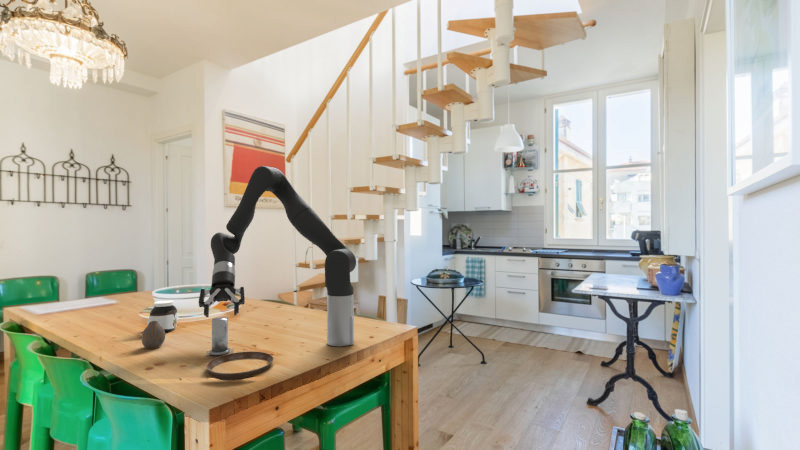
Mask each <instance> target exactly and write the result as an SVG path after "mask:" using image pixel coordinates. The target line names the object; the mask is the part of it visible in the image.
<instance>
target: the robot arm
mask: <svg viewBox="0 0 800 450" xmlns="http://www.w3.org/2000/svg"><path fill="white" fill-rule="evenodd" d="M265 192H271V193H272V194H273V195H274V196H275V197H276V198H277V199H278V200H279V201H280V203H281V204H282V205H283V207H284V210H285V214H286V217H287V219H288V221H289V223H290V224H291V225H292V226H293V227H294V229H295V230H296V231H297V232H298V233H299V234H300V235H301V236H302V237H303V238H305V239H306V240H307V241H309V242H310V243H312V244H313V245H315V246H316V247H318V248H319V249H320V250H321V251H322V252H323V254H324V255H325V260H324V284H325V285H324V286H325V288H326V296H327V298H326V299H327V301H326V303H327V308H326V310H327V314H326V315H327V316H326V318H327V319H326V324H327V325H326V328H327V331H326V334H327V335H326V336H327V337H326V338H327V339H326V340H327V345H328V346H332V347H345V346H353V345H354V341H355V314H354V286H353V285H352V283H351V272H353V271H354V270H355V269H356V266H357V259H356V256H355V254H354V253H353V251H351V249H349V248H348V247H347V246H346V245H345V244H343V242H342V241H341V240H340V239H339V238H338V237H337V236H335V234H334V233H333V232H332V231H331V229H330V228H329V227H328V226H327V225H326V223H325V222H324V221H323V220H322V219H321V217H320V216H319V215H318V214H317V213H316V212H315V210H314V209H313V208H312V207H311V206H310V205H309V203H307V202H306V201H305V199H303V197H302V196H301V195H300V194H299V192H297V191H296V189H295V188H294V186H293V185H292V184H291V182H290V181H289V180H288V178H287V177H286V175H285V173H283V172H282V171H281V170H280V169H278V168H276V167H273V166H267V165H261V166H258V167H256V168H255V169H253V172H252V174H251V176H250V179H249V181H248V182H247V185H246V188H245V190H244V193H243V195H242V197H241V199H240V202H239V204H238V205H237V208H236V209H235V210H234V211H233V214H232V215H231V217H230V219H229V220H228V222H227V224H226V227H225V228H226V230H227V231H228V232H229V233H230V234H231V235H230V234H227V233H224V232H216V233H215V234H213V235H212V237H211V240H210V249H211V252H212V256H213V260H214V261H213V269H212V276H211V286H210V287H211V288H210V289H209V290H206V289H205V288H201V289H200V291H199V292H200V293H199V297H198V308H203V316H205V318H209V316H210V314H209V313H210V307H211V306H212V305H214V304H215V303H216V302H217V303H220V302H228V301H229V302H230V303H231V304H233V306H234V308H233V315H234V316H237V314H239V313H240V311H239V309H240V306H241V305H245V303H246V301H245V300H246V299H245V288H244V286H240V288H236V287H235V285H236V283H235V282H236V267H235V266H236V257H235V256H236V255H235V254H237V253H238V252H239V250H240V248H241V244H242V239H243V237H244V234H245V232H247V231H246V230H248V227H249V226H250V225H251V223H252V221H253V219H254V217H255V213H256V205H257V203H258V201H259V199H260V198H261V197H262V195H263V194H264V193H265ZM236 293H237V294H238V295H239V296H240V299H239V298H238V297H236ZM208 295H209V297H208ZM206 297H208V299H207V300H205V298H206Z"/></svg>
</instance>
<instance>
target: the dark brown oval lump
mask: <svg viewBox="0 0 800 450" xmlns="http://www.w3.org/2000/svg"><path fill="white" fill-rule="evenodd" d="M165 339H166V333H165V331H164V329H163V327H162V326H161V325H160V324H159V323H158V321H151V322H149V324H148V325H147V326H146V327H145V328H144V329H143V331H142V333H141V339H140V340H141V344H142V345H143V347H144V348H146V349H147V350H149V349H150V350H152V349H157V348H160V347H161V346H162V345H163V344H164V342H165Z"/></svg>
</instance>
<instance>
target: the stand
mask: <svg viewBox="0 0 800 450" xmlns="http://www.w3.org/2000/svg"><path fill="white" fill-rule="evenodd" d="M234 351H235V348H230V353H229V354H232V353H235V352H234ZM217 357H220V356H210V350H207V351H206V353H205V356H204V360H208V359H215V358H217Z"/></svg>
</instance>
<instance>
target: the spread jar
mask: <svg viewBox="0 0 800 450" xmlns="http://www.w3.org/2000/svg"><path fill="white" fill-rule="evenodd" d="M174 303H175V301H174V300H158V301H155V302H153V307H152V308H151V310H150V312H149V316H148V319H147V322H146V325H147V326H148V324H149V322H151V321H158V323H159V324H160V325H161V326H162V327H163V329H164V331H165V334H166V333H171V332H173V331H175V329H176V328H177V326H178V325H177V324H178V309H177V307H176V306H175V305H174ZM170 331H171V332H170Z"/></svg>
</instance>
